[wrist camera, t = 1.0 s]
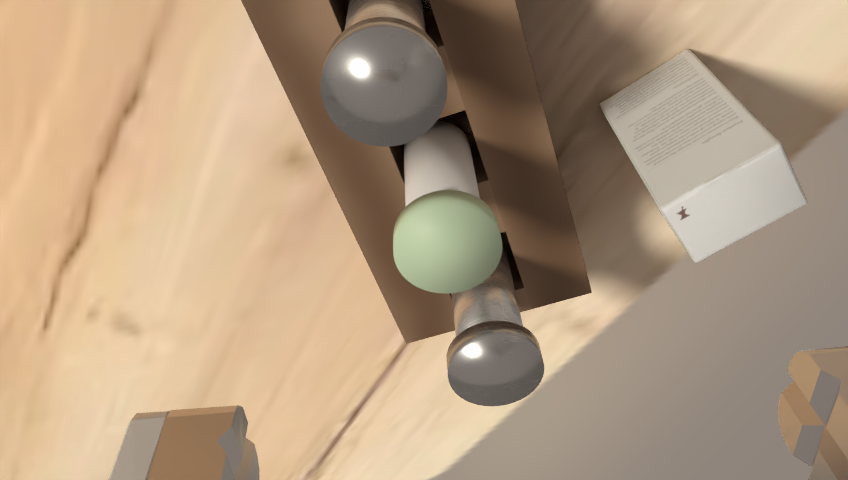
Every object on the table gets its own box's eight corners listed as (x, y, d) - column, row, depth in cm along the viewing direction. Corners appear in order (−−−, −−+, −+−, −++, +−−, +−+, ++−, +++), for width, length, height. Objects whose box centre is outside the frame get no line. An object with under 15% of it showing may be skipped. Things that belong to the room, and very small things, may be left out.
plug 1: (416, -55, 34) (424, 9, 26) (448, 42, 36) (463, 125, 29) (319, -19, 34) (299, 52, 27) (357, 72, 37) (349, 161, 29)
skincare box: (628, 152, 46) (692, 267, 36) (596, 102, 44) (655, 209, 34) (718, 99, 44) (812, 205, 34) (690, 44, 42) (781, 140, 32)
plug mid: (466, 98, 38) (485, 190, 30) (491, 174, 41) (514, 276, 33) (379, 127, 39) (377, 224, 31) (409, 199, 41) (414, 305, 34)
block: (471, -137, 36) (484, -116, 31) (571, 236, 50) (591, 292, 45) (251, -54, 38) (230, -22, 33) (404, 284, 52) (406, 343, 47)
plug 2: (506, 219, 42) (531, 326, 35) (526, 281, 45) (553, 392, 38) (427, 243, 43) (435, 352, 36) (451, 302, 46) (464, 415, 38)
